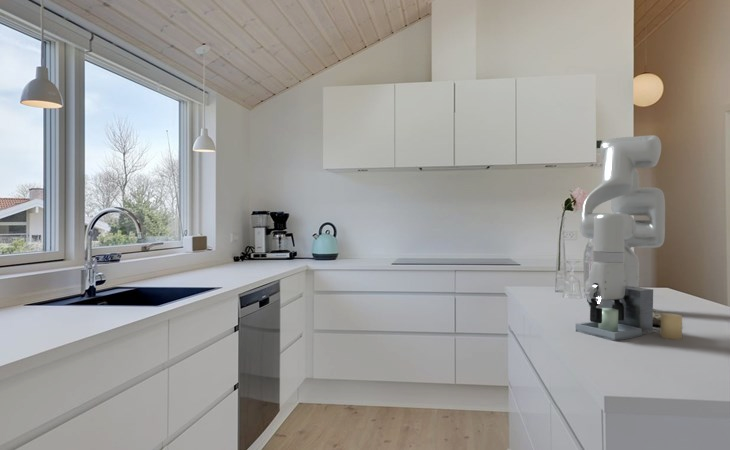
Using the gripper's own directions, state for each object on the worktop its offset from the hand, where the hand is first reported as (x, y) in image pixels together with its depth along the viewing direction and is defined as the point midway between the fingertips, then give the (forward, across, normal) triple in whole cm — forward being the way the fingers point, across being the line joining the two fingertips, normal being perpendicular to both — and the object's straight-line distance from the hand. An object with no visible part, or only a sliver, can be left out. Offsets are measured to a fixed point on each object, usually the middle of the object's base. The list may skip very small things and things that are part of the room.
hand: (607, 320), depth 126 cm
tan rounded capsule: (+4, -13, +10) cm, 16 cm away
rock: (+4, -24, -2) cm, 24 cm away
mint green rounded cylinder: (+3, -1, 0) cm, 3 cm away
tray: (+4, -1, 0) cm, 4 cm away
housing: (+3, -11, -2) cm, 11 cm away
